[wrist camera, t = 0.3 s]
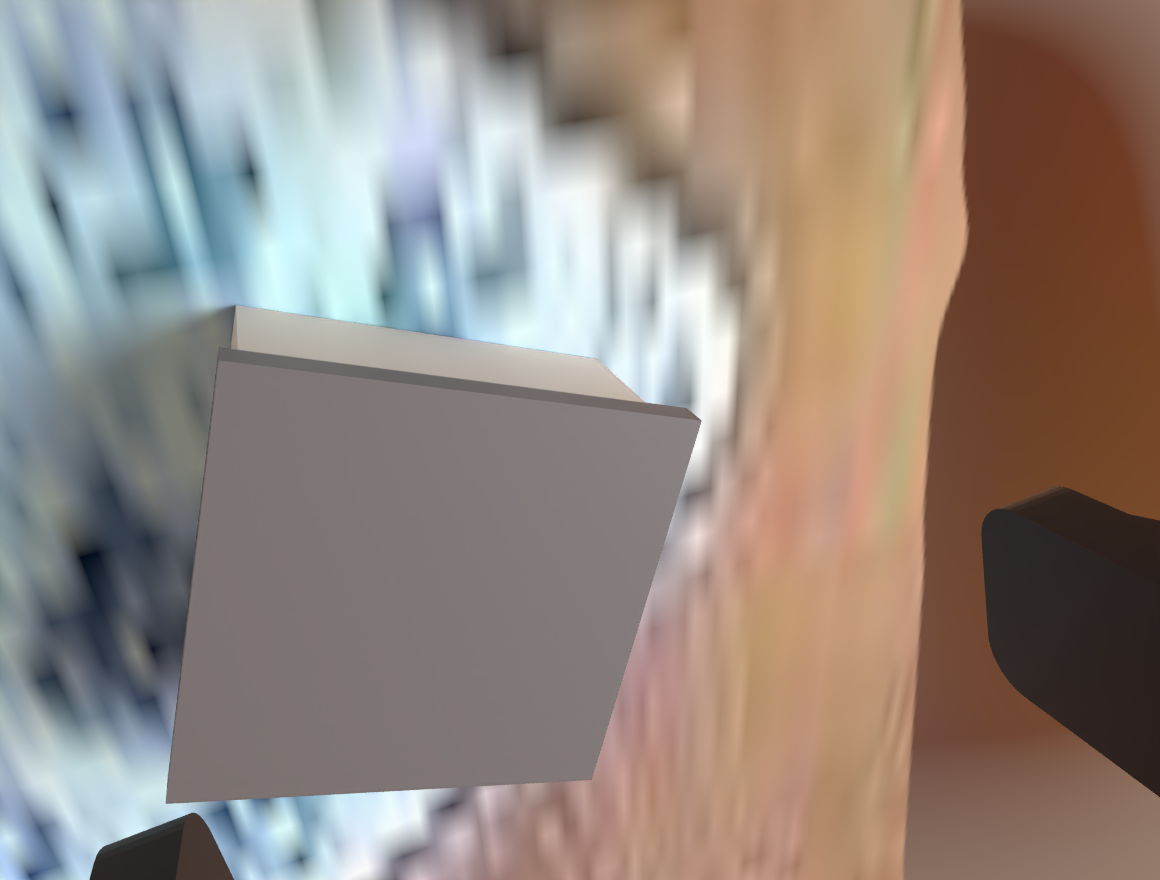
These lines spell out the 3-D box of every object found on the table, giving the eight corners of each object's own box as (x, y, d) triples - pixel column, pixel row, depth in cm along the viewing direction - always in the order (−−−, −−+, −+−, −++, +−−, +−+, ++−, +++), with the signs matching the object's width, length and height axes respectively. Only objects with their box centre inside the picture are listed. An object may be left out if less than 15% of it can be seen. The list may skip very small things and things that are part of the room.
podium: (220, 286, 27) (218, 360, 21) (612, 347, 32) (701, 420, 26) (177, 654, 31) (165, 803, 25) (530, 655, 36) (591, 779, 30)
